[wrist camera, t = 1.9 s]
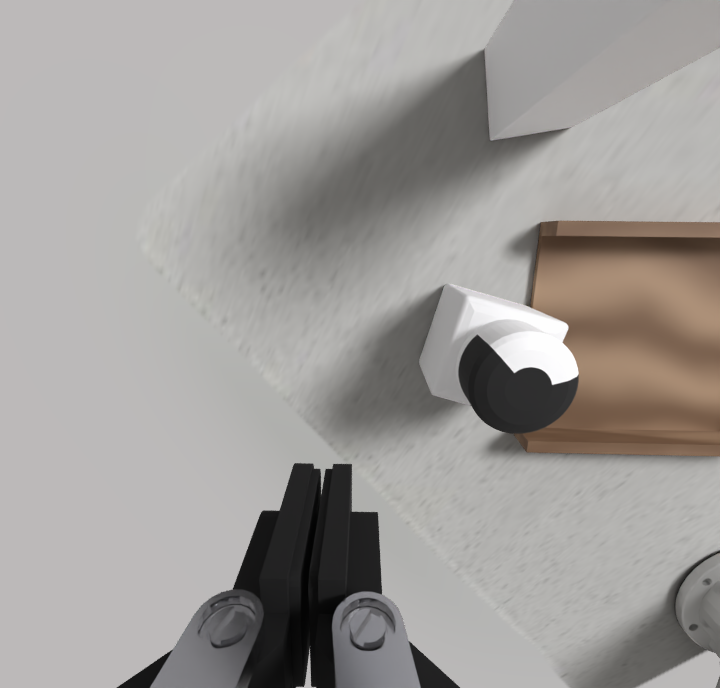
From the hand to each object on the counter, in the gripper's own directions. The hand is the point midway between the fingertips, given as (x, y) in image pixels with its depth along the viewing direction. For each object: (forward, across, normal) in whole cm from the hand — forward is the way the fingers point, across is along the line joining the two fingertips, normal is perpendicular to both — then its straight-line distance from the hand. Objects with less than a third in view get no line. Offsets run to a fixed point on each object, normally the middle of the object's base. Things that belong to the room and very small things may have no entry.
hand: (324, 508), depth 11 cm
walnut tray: (+22, -25, 0) cm, 33 cm away
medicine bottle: (+22, -10, 0) cm, 24 cm away
